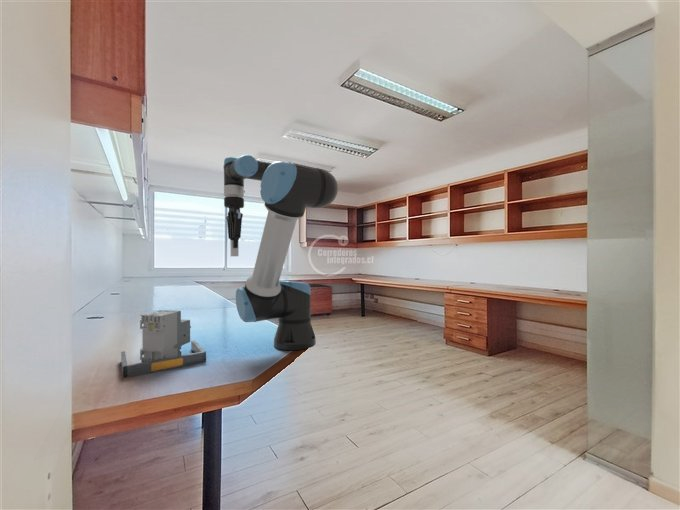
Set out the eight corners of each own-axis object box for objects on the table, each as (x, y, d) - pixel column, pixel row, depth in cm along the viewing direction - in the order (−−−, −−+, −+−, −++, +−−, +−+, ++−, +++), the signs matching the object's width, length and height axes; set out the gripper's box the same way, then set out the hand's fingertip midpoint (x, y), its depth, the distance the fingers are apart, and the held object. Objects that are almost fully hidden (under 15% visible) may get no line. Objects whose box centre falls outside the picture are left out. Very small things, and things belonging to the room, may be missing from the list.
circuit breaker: (193, 351, 106) (193, 307, 106) (161, 366, 92) (161, 315, 92) (174, 350, 107) (174, 307, 107) (140, 364, 93) (139, 314, 93)
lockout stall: (206, 361, 95) (206, 352, 95) (123, 378, 83) (122, 367, 83) (194, 348, 109) (194, 340, 109) (121, 361, 96) (121, 351, 96)
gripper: (249, 195, 121) (249, 256, 121) (238, 200, 132) (238, 256, 132) (229, 193, 117) (230, 256, 117) (219, 199, 127) (220, 256, 127)
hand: (234, 256), depth 124 cm, fingers closed
